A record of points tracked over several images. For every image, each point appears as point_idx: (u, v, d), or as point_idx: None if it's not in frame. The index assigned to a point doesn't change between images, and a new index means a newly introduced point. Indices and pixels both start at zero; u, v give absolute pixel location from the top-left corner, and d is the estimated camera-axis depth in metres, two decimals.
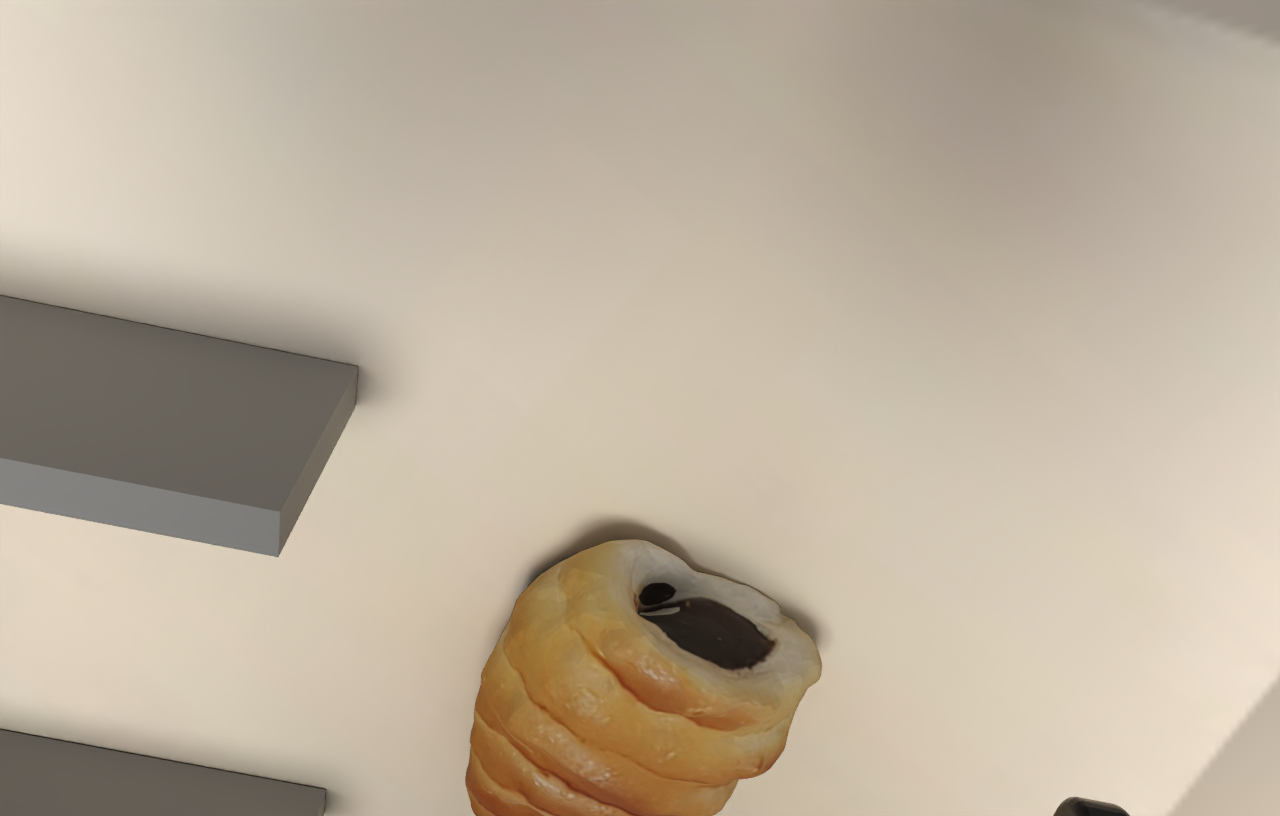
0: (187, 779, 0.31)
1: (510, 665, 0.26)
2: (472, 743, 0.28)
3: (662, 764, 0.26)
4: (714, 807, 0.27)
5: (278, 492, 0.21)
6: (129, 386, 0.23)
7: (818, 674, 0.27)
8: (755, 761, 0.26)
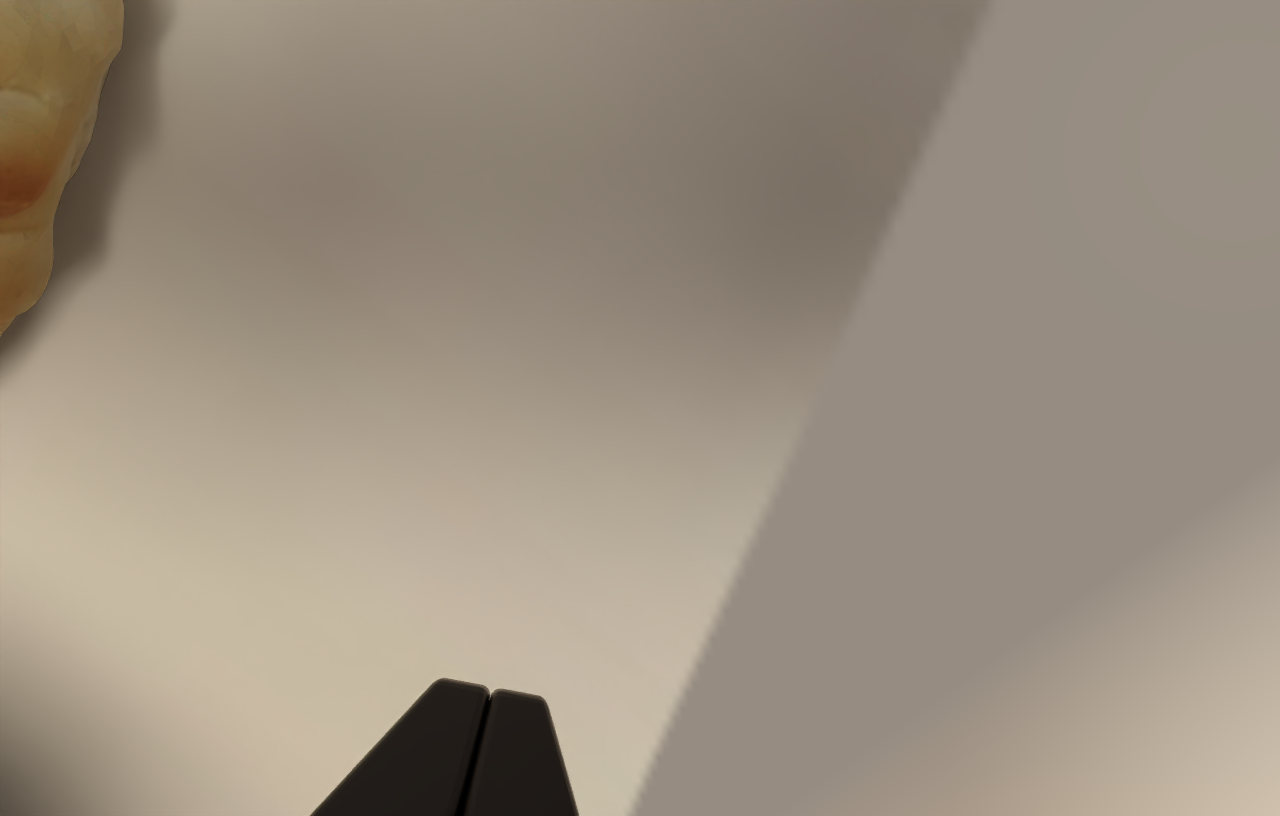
0: None
1: None
2: None
3: None
4: None
5: None
6: None
7: (95, 14, 0.14)
8: None
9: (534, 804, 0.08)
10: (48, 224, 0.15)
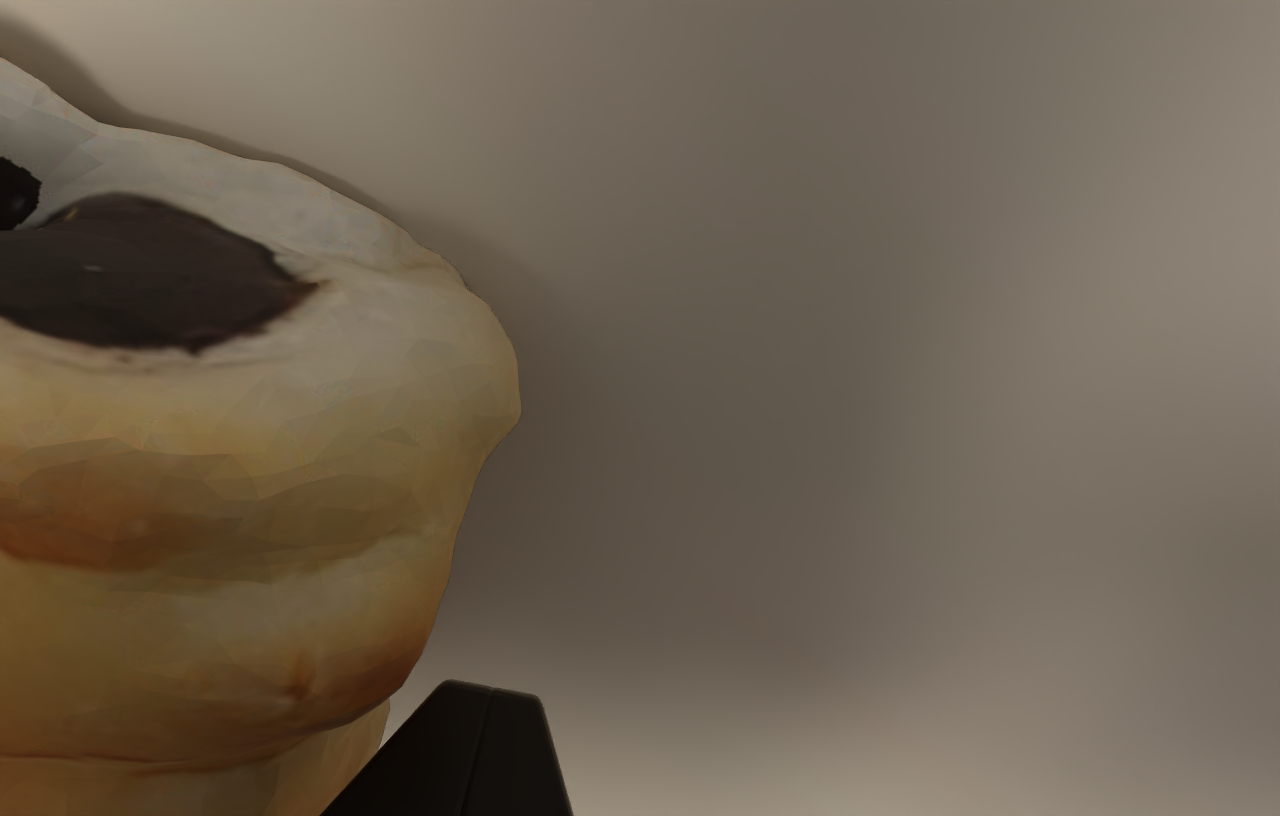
0: None
1: None
2: None
3: None
4: None
5: None
6: None
7: (498, 395, 0.09)
8: (274, 674, 0.08)
9: (529, 803, 0.08)
10: None
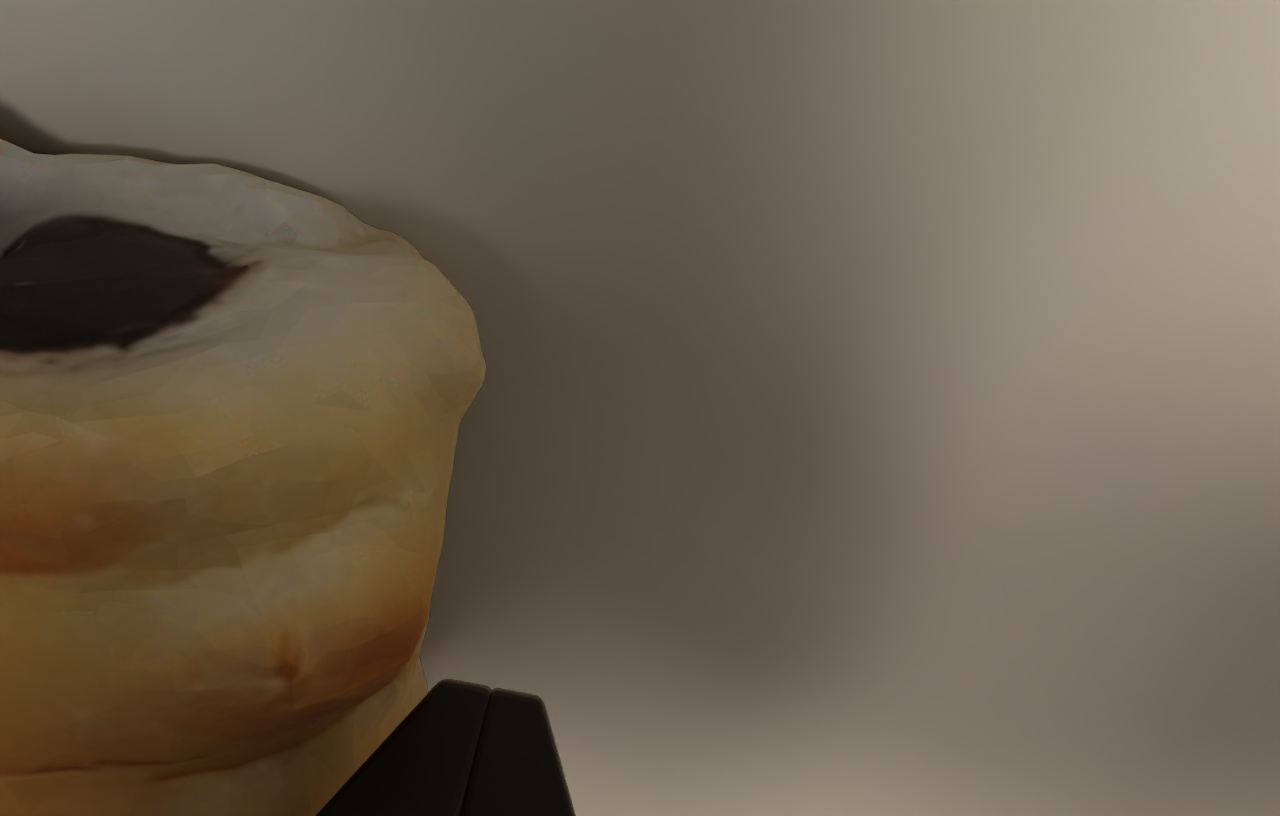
0: None
1: None
2: None
3: None
4: None
5: None
6: None
7: (451, 350, 0.09)
8: (259, 655, 0.08)
9: (531, 804, 0.08)
10: None
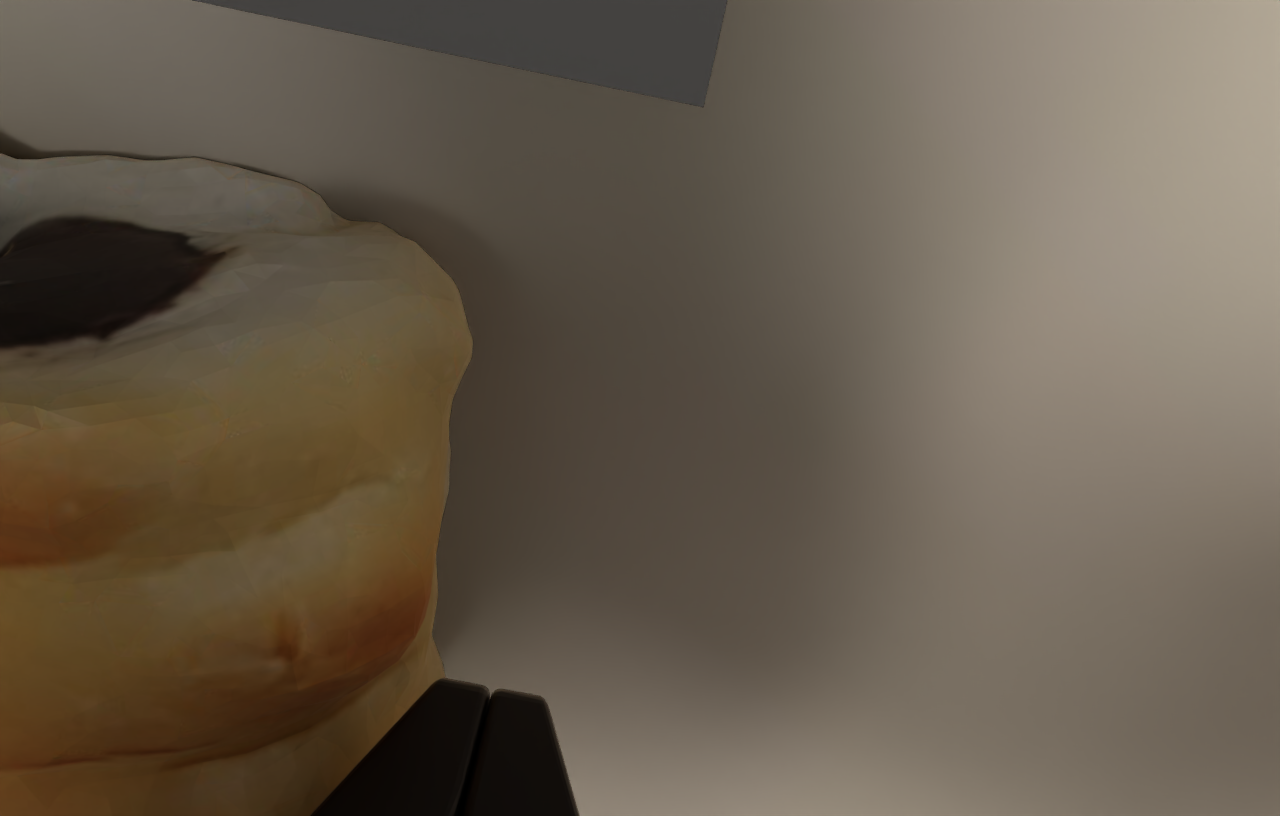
0: None
1: None
2: None
3: None
4: (269, 814, 0.09)
5: None
6: None
7: (433, 325, 0.09)
8: (258, 637, 0.08)
9: (535, 805, 0.08)
10: (431, 632, 0.10)
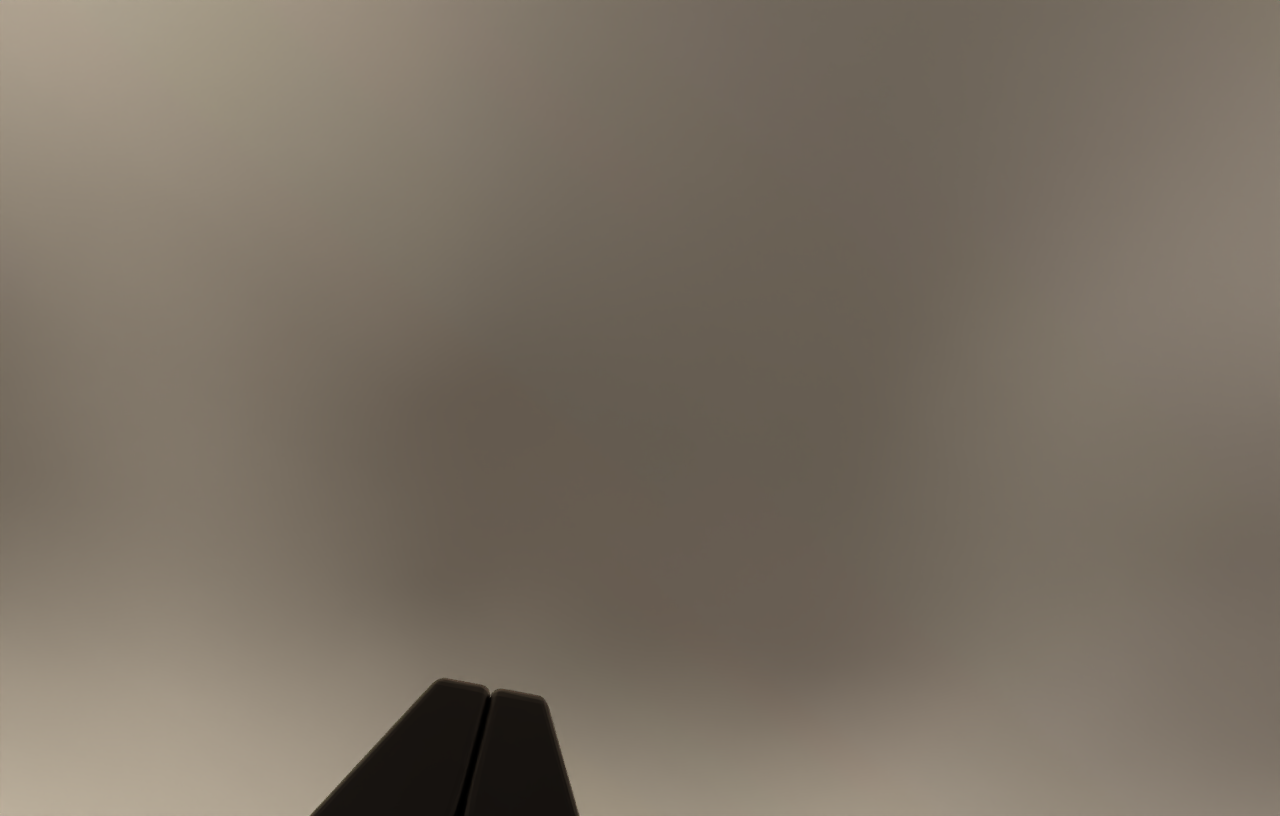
0: None
1: None
2: None
3: None
4: None
5: None
6: None
7: None
8: None
9: (534, 805, 0.08)
10: None
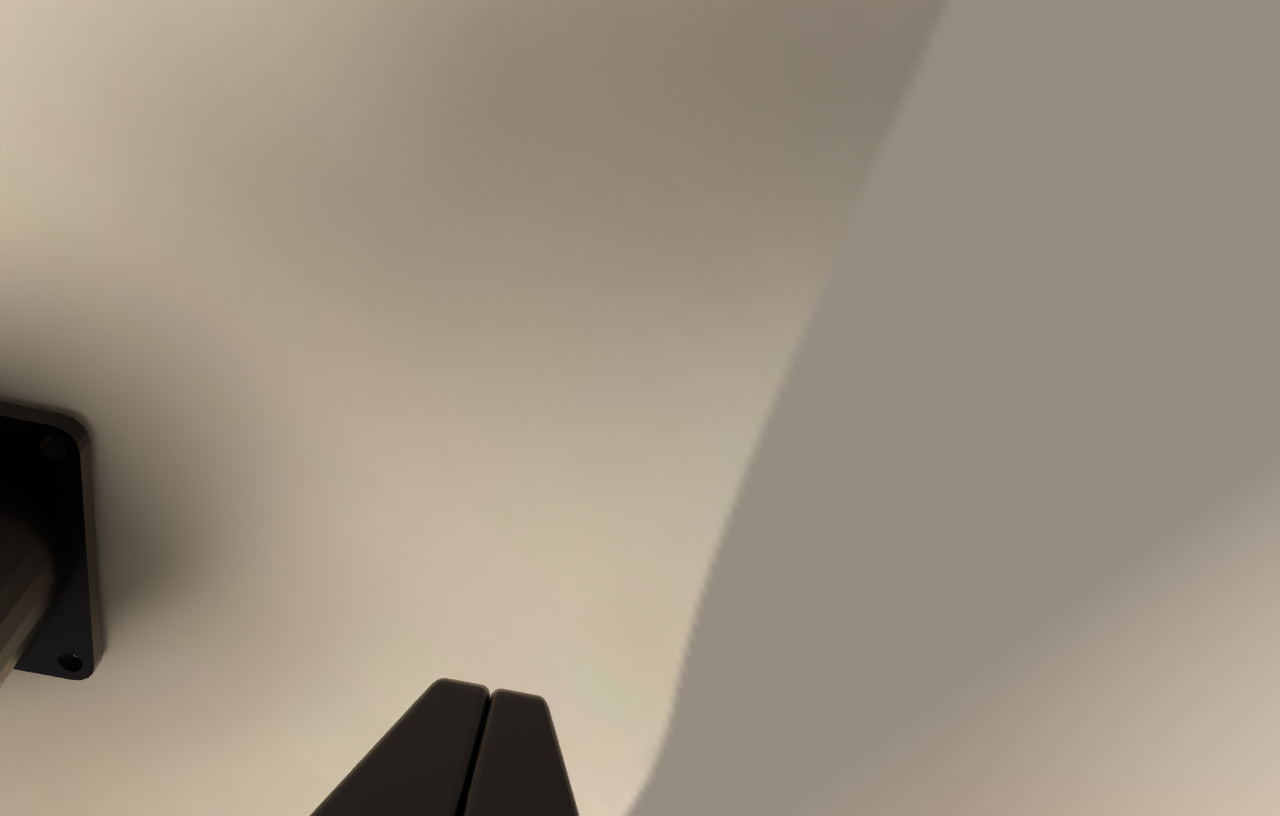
0: None
1: None
2: None
3: None
4: None
5: None
6: None
7: None
8: None
9: (535, 805, 0.08)
10: None
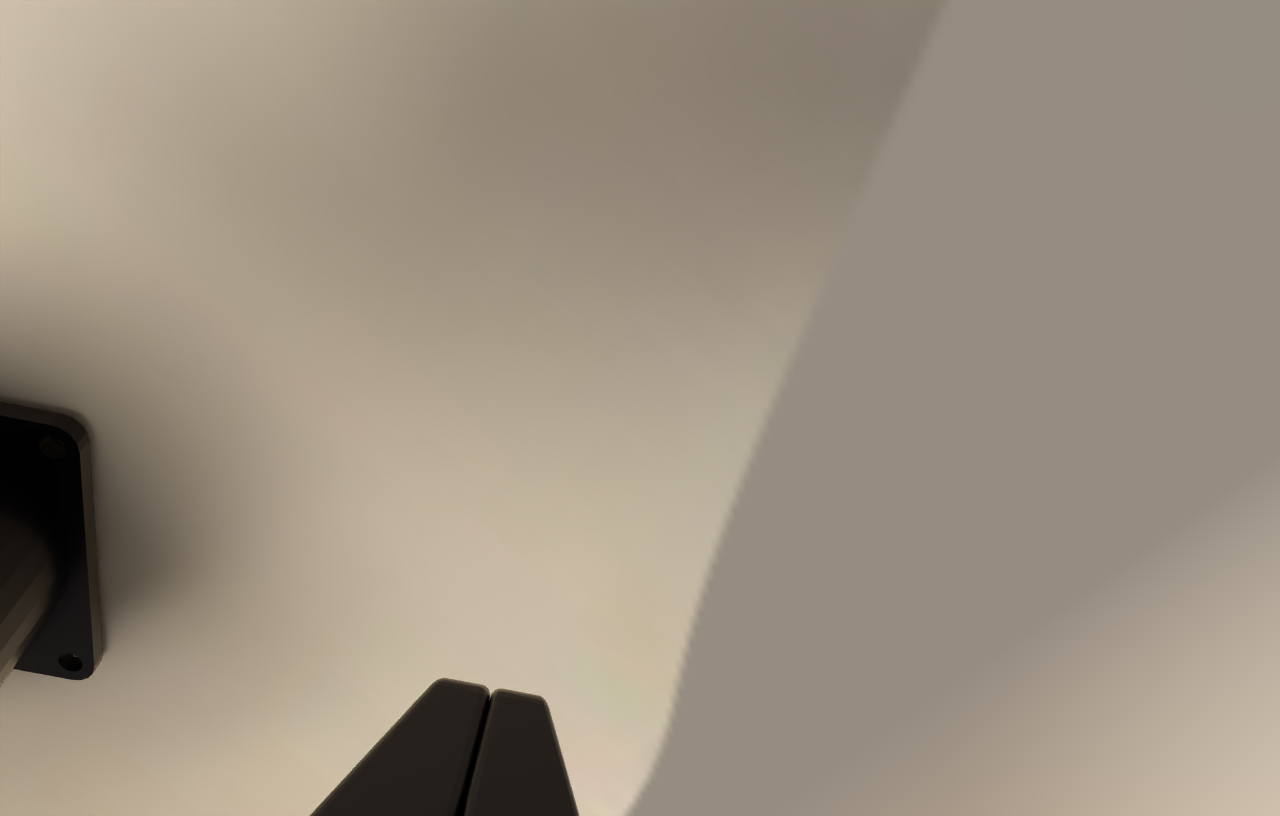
0: None
1: None
2: None
3: None
4: None
5: None
6: None
7: None
8: None
9: (534, 805, 0.08)
10: None
